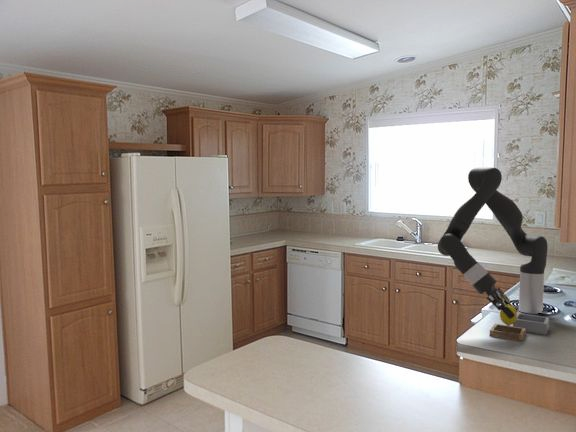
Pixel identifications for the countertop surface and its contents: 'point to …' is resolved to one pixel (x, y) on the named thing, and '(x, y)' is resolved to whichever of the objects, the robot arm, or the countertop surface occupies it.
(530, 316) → the holder
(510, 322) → the lemon
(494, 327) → the cradle
